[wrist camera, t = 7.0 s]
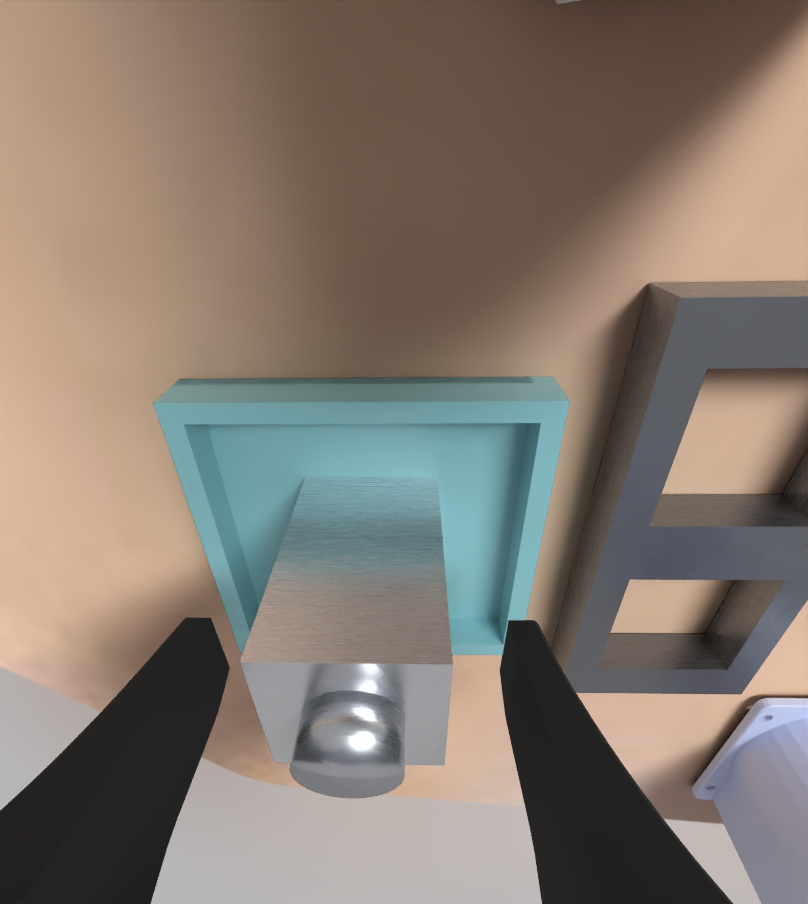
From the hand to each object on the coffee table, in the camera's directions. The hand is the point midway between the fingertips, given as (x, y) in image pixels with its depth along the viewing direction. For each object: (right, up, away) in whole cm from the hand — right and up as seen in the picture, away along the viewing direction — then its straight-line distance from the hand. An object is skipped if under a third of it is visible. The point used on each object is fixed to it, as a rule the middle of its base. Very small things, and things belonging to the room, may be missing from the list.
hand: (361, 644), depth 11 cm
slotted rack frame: (+11, +2, +4) cm, 11 cm away
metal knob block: (0, +2, +4) cm, 4 cm away
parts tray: (0, +2, +4) cm, 5 cm away
